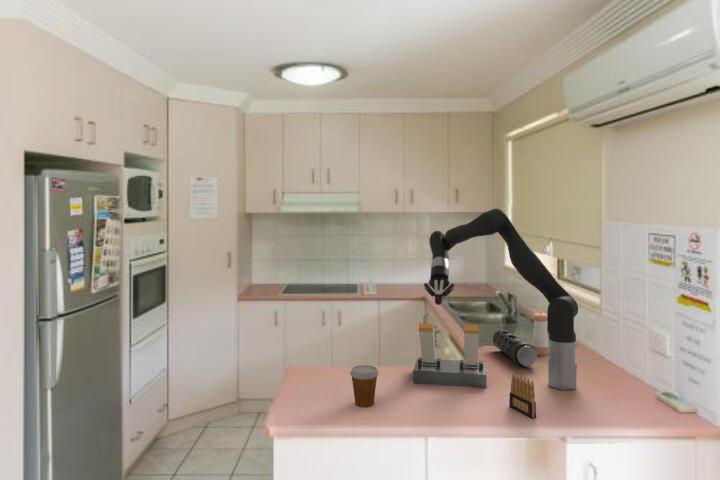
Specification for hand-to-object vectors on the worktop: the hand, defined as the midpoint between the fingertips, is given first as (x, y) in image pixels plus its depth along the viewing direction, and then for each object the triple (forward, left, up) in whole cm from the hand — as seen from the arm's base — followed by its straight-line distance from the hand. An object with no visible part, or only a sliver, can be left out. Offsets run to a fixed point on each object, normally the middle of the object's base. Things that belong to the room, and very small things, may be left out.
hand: (438, 303), depth 208 cm
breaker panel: (-11, -1, -27) cm, 29 cm away
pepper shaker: (+12, -54, -28) cm, 62 cm away
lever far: (-7, +6, -21) cm, 24 cm away
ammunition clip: (-47, -11, -28) cm, 55 cm away
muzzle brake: (+6, -37, -28) cm, 47 cm away
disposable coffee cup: (-28, +37, -28) cm, 54 cm away
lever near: (-14, -8, -21) cm, 27 cm away
